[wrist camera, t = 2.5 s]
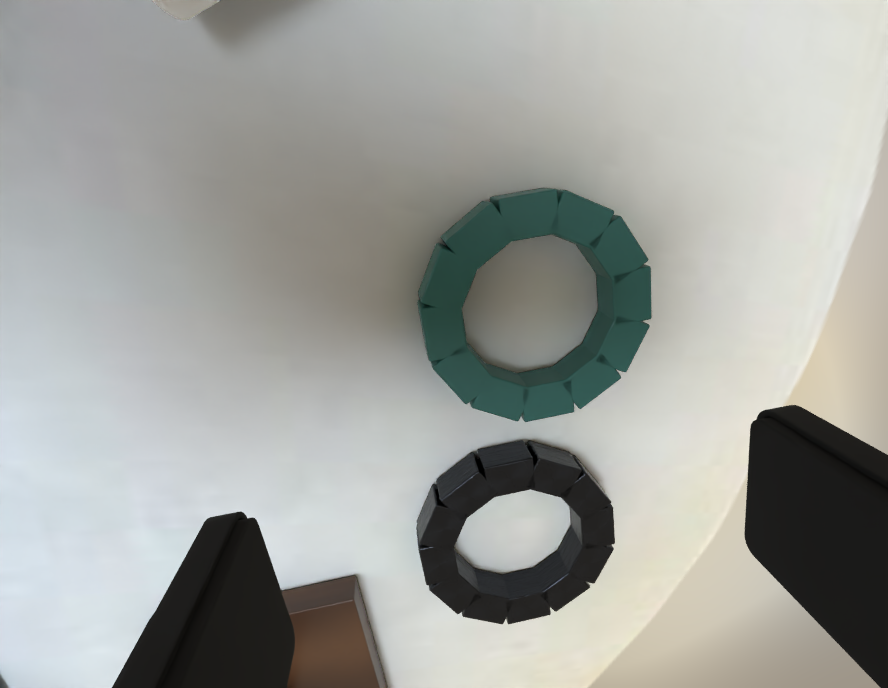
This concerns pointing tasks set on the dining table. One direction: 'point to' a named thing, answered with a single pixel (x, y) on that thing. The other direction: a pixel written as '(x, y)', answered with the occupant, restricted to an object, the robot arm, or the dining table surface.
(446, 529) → the graphite ring
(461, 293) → the teal ring
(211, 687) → the robot arm
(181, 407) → the dining table surface
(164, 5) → the mug
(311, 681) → the stand
